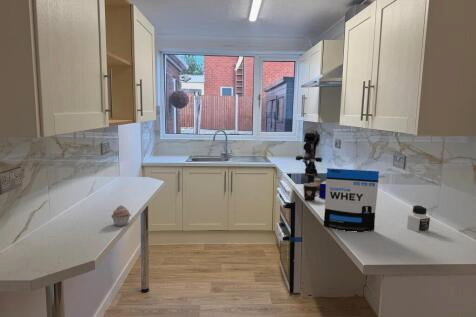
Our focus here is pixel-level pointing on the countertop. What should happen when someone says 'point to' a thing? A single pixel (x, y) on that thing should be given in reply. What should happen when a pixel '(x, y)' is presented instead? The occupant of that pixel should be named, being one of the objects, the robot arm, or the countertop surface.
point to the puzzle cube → (323, 186)
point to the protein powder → (351, 199)
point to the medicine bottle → (418, 219)
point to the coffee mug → (310, 191)
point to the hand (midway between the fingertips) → (308, 170)
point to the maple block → (317, 181)
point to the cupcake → (121, 216)
